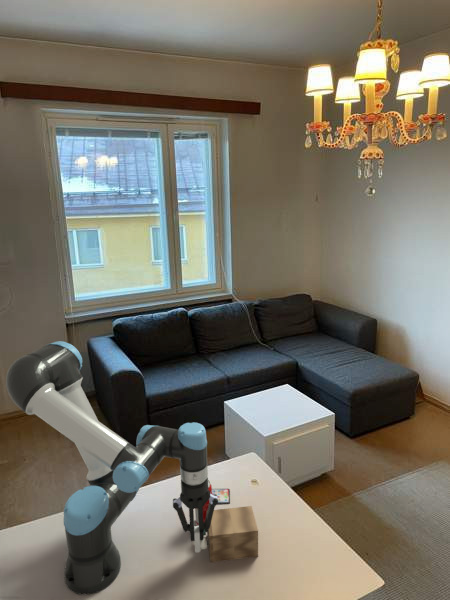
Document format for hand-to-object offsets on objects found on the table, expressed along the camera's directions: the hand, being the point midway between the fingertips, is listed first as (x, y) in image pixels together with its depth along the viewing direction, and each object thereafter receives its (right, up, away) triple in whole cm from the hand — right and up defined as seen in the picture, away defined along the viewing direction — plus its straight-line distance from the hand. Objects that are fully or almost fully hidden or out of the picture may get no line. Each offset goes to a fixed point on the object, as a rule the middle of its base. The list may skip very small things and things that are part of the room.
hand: (197, 548), depth 123 cm
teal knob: (+4, +2, +5) cm, 7 cm away
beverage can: (+1, 0, +13) cm, 13 cm away
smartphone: (+2, +3, +25) cm, 25 cm away
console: (+10, -2, +4) cm, 11 cm away
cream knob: (+5, 0, +1) cm, 5 cm away
